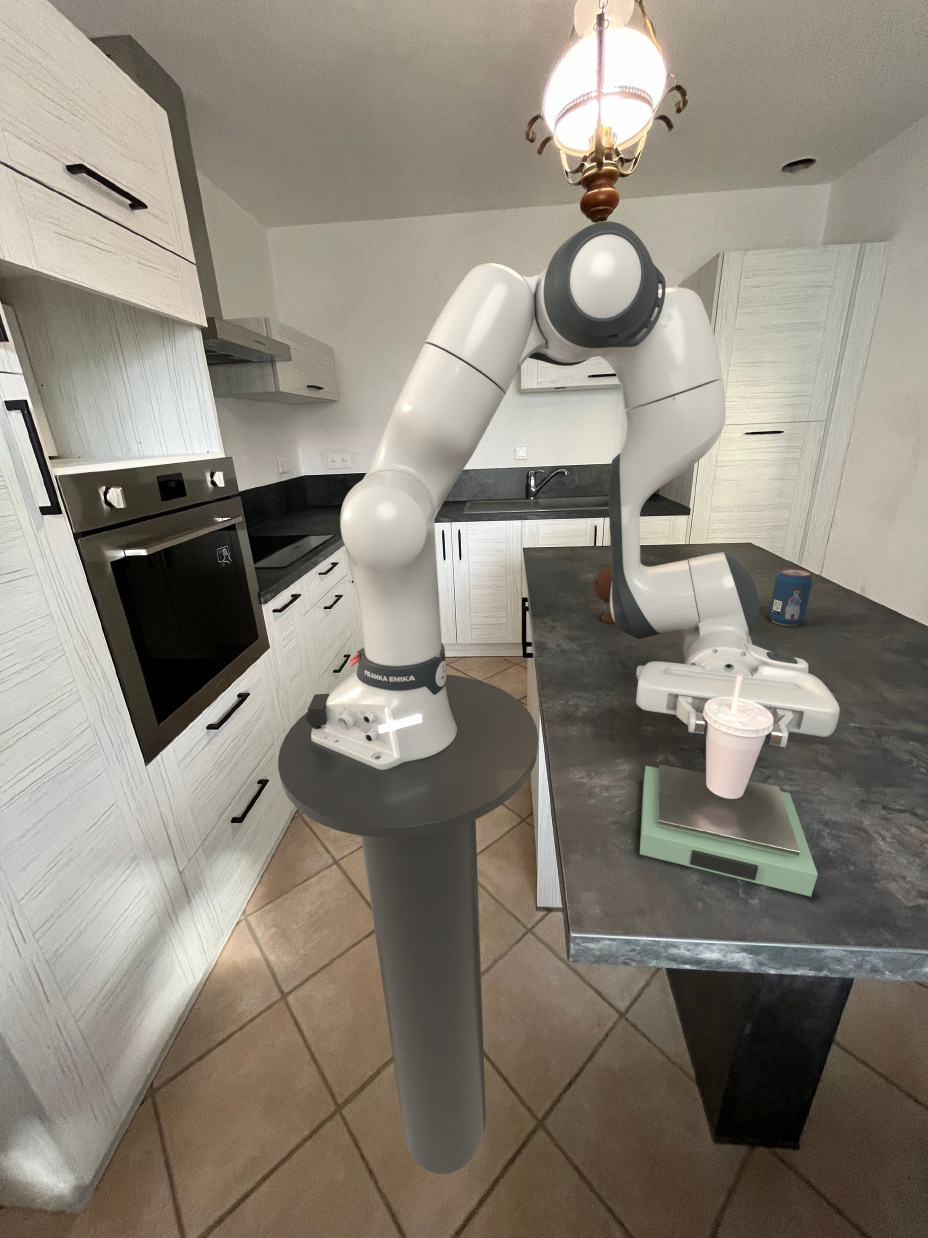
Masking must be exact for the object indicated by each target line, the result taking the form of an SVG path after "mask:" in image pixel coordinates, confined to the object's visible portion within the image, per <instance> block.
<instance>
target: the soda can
mask: <svg viewBox="0 0 928 1238" xmlns="http://www.w3.org/2000/svg"><path fill="white" fill-rule="evenodd" d="M811 575H812V573H811V572H810V571H808V570H804V569H799V568H783V569H781V570H780V571H779V574H777V576H776V577H775V582H774V587H773V591H772V596H771V601H770V605H769V611H768V617H769V619H770V621H771V622H772V623H774V624H777V625H780V626H784V627H785V626H786V627H796V626H798V625H800V624H801V623H802V622H803V621H804V620H805V616H806V612H807V607H808V603H809V599H810V594H811V589H812V586H813V585H812V584H813V579H812V576H811Z"/></svg>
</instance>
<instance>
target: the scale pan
mask: <svg viewBox="0 0 928 1238" xmlns="http://www.w3.org/2000/svg"><path fill="white" fill-rule="evenodd" d="M658 768H659V771H658V826H660V827H664V828H669V829H673V830H677V831H682V832H686V833H691V834H695V835H699V836H704V837H708V838H713V839H717V840H721V841H726V842H730V843H735V844H739V845H743V846H748V847H752V848H757V849H761V850H765V851H770V852H774V853H779V854H783V855H787V856H792V857H796V858H799V854H800V850H799V847H798V844H797V841H796V838H795V835H794V832H793V828H792V825H791V822H790V819H789V816H788V813H787V810H786V807H785V804H784V801H783V797H782V794H781V787H780V786H779V785H773V784H767V783H763V782H756V781H752V780H751V781H750V780H749V781H748V783H747V786H746V788H745V791H744V794H743V795H742V796H741V797H739V798H736V799H729V798H724V797H721V796H718V795H716V794H714V793H713V792H712V791H710V790H709V788H708V787H707V785H706V772H703V771H698V770H692V769H686V768H681V767H676V766H672V765H671V766H670V765H665V764H661V763H660V764H658Z"/></svg>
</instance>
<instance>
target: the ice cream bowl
mask: <svg viewBox="0 0 928 1238" xmlns="http://www.w3.org/2000/svg"><path fill="white" fill-rule="evenodd" d="M591 583H592V588H593V590H594V593H595V594H596V596H597V597H598V598H599V599H600V600H601V601H603V602H604V603H606V604H609V605H610V591H611V583H612V567H611V565H607V566H606V567H605V568H603V569H601V570H600V571H599V572H597V577H595V578H593V579H592V580H591ZM600 619H601V621H602V622H604V623H607V624H608V623H609V624H615V622H614V620H613V618H612V615H611V610H610V609H609V612H606V613H604V614H603V615H602V616H601V617H600Z"/></svg>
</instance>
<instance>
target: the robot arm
mask: <svg viewBox="0 0 928 1238" xmlns="http://www.w3.org/2000/svg"><path fill="white" fill-rule="evenodd" d="M659 285H661V289H660V287H659ZM595 357H600V358H601V359H603V360H604V361H606V362H607V364H608V365H609V366H610V367H611V369H612V370H613V372H614V374H615V375H616V378H617V381H618V383H620V384H619V385H620V390H621V396H622V402H623V407H624V408H623V409H624V410H625V411H624V413H625V414H624V415H625V421H626V431H625V436H624V437H625V438H624V442H623V445H622V448H621V451H620V452H619V453H617V455H616V456H615V457H613V459H611V463H610V467H609V475H608V518H609V519H608V521H609V541H610V543H609V545H610V566H611V567H612V583H611V591H610V604H609V611H610V610H611V615H612V618H613V620H614V622H615V623H614V625H615V627H616V628H617V629H619V630H620V631H622V632H623V633H625V634H626V635H629V636H631V637H633V638H635V639H638V640H640V639H644V638H649V637H654V636H658V635H661V634H663V633H669V632H676V631H683V634H682V635H683V636H682V654H683V658H684V660H683V663H679V662H670V661H659V660H654V661H649V662H647V663H646V664H645V665H638V666H637V668H636V670H635V677H636V679H637V680H638V681H637V688H636V699H635V704H636V705H637V707H639V708H640V709H641V710H643V711H647V712H653V713H658V714H659V713H661V714H667V715H673V716H676V718H678V719H679V720H680V721H681V722H683V723H684V724H685V725H687V731H688V733H691V734H699V735H704V734H705V728H706V720H705V718H704V716H703V710H704V707H705V703H706V702H707V701H708V700H710V699H712V698H716V697H723V696H729V697H733V695H734V689H735V683H736V678H737V674H738V673H740V674H743V680H742V686H741V691H740V697H739V698H743V699H747V700H750V701H753V702H755V703H757V704H760V705H761V706H763V707H765V708H766V709H767V710H768V711H769V712H770V713H771V714H772V715H773V718H774V721H773V729H772V731H771V732H770V733H768V734H767V735H766V737H765V741H767V745H770V746H775V747H781V748H786V747H787V743H788V739H789V735H790V733H795V734H802V735H807V736H813V737H814V736H815V737H821V738H827V737H829V736H831V735H832V734H833V733H834V732H835V730H836V728H837V725H838V721H839V718H840V712H841V711H840V710H841V709H840V705H839V703H838V701H837V699H836V698H835V696H834V695H833V693H832V692H831V691H830V689H829V688H828V687H827V686H826V684H825V683H824V682H823V681H822V680H821V679H820V678H819V677H817V676H815V675H814V674H811V673H809V663H808V662H807V661H806V660H804V659H802V658H799V657H794V656H790V655H787V654H783V653H778V652H774V651H771V650H768V649H765V648H762V647H760V646H757V645H755V644H753V642H752V638H751V636H750V634H751V633H752V632H753V631H754V630H755V628H756V626H757V624H758V622H759V620H760V616H761V615H760V614H761V612H760V611H761V610H760V609H761V608H760V600H759V595H758V592H757V587H756V584H755V582H754V579H753V577H752V574H751V573H750V571H749V568H748V567H747V564H746V563H745V562H743V561H742V560H740V559H739V558H738V557H737V556H735V555H733V554H731V553H729V552H726V551H723V552H722V551H721V552H716V553H710V554H705V555H700V556H695V557H690V558H688V559H683V560H678V561H673V562H668V563H664V564H663V563H662V564H658V565H653V566H652V565H651V566H647V565H643V564H642V562H641V524H640V523H641V522H640V521H641V519H640V516H641V511H642V508H643V506H644V504H645V503H646V502H647V500H648V499H649V498H650V497H651V496H652V495H653V494H654V493H655V492H657V491H658V490H659V489H660V488H662V487H663V486H665V485H666V484H667V483H669V482H670V481H672V480H674V479H676V478H677V477H678V476H680V475H681V474H684V472H687V470H688V469H690V468H691V467H693V466H694V465H695V464H697V463H698V462H699V461H700V460H701V459H702V458H704V456H706V455H707V454H708V452H709V451H710V450H711V449H712V448H713V447H714V446H715V444H716V443H717V441H718V440H719V438H720V437H721V434H722V433H723V430H724V427H725V424H726V412H727V411H726V392H725V382H724V377H723V369H722V364H721V360H720V355H719V351H718V346H717V342H716V338H715V335H714V330H713V328H712V325H711V321H710V317H709V315H708V313H707V310H706V307H705V305H704V302H703V300H702V298H701V297H700V295H699V294H698V293H697V292H695V291H694V290H692V289H690V288H687V287H681V286H671V287H667V283H666V278H665V276H664V274H663V273H662V271H661V270H660V269H659V268H658V267H657V266H656V265H655V263H654V261H653V260H652V257H651V254H650V252H649V250H648V248H647V247H646V244H645V243H644V242H643V241H642V240H641V237H639V236H638V235H637V234H636V233H635V232H634V231H633V230H632V229H630V228H629V227H628V226H626V225H624V224H622V223H619V222H616V221H610V220H609V221H607V220H605V221H597V222H594V223H590V224H588V225H586V226H584V227H582V228H580V229H578V230H577V231H575V232H574V233H572V234H571V235H570V236H569V237H567V238H566V239H565V240H564V242H562V243H561V244H560V246H558V248H557V249H556V251H555V253H554V254H553V255H552V257H551V260H550V261H549V263H548V265H547V266H546V267H545V269H544V270H543V271H542V272H540V273H539V274H536V275H534V276H524V275H520V274H519V273H517V271H515V270H513V269H512V268H510V267H508V266H506V265H503V264H499V263H491V262H487V263H481V264H479V265H476V266H475V267H473V268H472V269H470V270H469V272H468V273H466V275H465V276H464V278H463V279H462V280H461V282H460V283H459V284H458V286H457V287H456V288H455V290H454V291H453V292H452V294H451V295H450V297H449V298H448V300H447V302H446V304H445V305H444V307H443V308H442V310H441V312H440V313H439V315H438V316H437V318H436V320H435V322H434V324H433V326H432V327H431V329H430V331H429V333H428V335H427V337H426V339H425V341H424V343H423V346H422V348H421V350H420V352H419V354H418V356H417V357H416V360H415V362H414V364H413V366H412V368H411V370H410V372H409V375H408V377H407V379H406V381H405V383H404V385H403V387H402V389H401V391H400V394H399V396H398V398H397V400H396V401H395V404H394V406H393V408H392V411H391V414H390V416H389V418H388V419H389V420H388V422H387V424H386V427H385V429H384V432H383V434H382V436H381V439H380V441H379V444H378V446H377V449H376V451H375V453H374V455H373V458H372V460H371V462H370V464H369V467H368V469H367V471H366V473H365V475H364V477H363V478H362V480H360V481H358V483H356V484H355V485H353V487H352V488H351V489H350V490H349V491H348V492H347V494H346V495H345V498H344V499H343V501H342V505H341V510H340V515H339V525H340V527H339V528H340V533H341V538H342V541H343V543H344V548H345V553H346V558H347V562H348V563H347V564H348V566H349V567H348V568H349V571H350V576H351V579H352V582H353V586H354V589H355V593H356V597H357V603H358V608H359V615H360V624H361V625H360V626H361V633H362V640H363V647H362V648H360V649H359V650H357V652H356V655H354V656H352V657H351V658H350V659H349V660H348V661H349V662H351V663H350V664H349V667H350V668H352V667H354V666H355V665H357V664H358V665H357V669H356V670H355V671H354V672H353V673H352V674H350V675H349V676H348V677H347V678H346V679H344V680H343V681H342V682H341V683H340V684H338V685H337V686H336V687H335V688H334V689H333V690H332V691H331V692H330V693H317V694H316V693H315V694H314V695H313V697H312V698H311V701H310V703H309V706H308V708H307V711H306V712H307V715H306V719H307V721H308V723H309V724H310V725H311V726H312V727H313V729H312V732H311V740H312V741H313V742H315V743H317V744H320V745H322V746H324V747H327V748H329V749H331V750H334V751H336V752H339V753H341V754H343V755H346V756H348V757H351V758H353V759H355V760H358V761H360V762H363V763H365V764H367V765H370V766H372V767H374V768H377V769H380V770H386V769H389V768H392V767H394V766H397V765H399V764H401V763H403V762H407V761H413V760H418V759H422V758H426V757H429V756H432V755H434V754H436V753H438V752H440V751H442V750H443V749H445V748H446V747H447V746H449V745H450V744H451V742H452V741H453V740H454V738H455V736H456V734H457V725H456V723H455V721H454V718H453V715H452V712H451V709H450V705H449V701H448V697H447V692H446V685H445V684H446V675H448V674H447V673H448V672H447V669H448V668H447V660H446V650H445V645H444V644H443V642H442V629H441V628H442V627H441V609H440V596H439V595H440V593H439V579H438V563H437V548H436V547H437V546H436V530H435V529H436V527H435V519H436V517H437V515H438V513H439V511H440V509H441V508H442V505H443V504H444V502H445V501H446V499H447V498H448V495H449V493H450V492H451V490H452V489H453V488H454V486H455V483H456V482H457V480H458V479H459V478H460V475H461V474H462V472H463V471H464V469H465V468H466V466H467V465H468V463H469V461H470V460H471V458H472V457H473V455H474V453H475V451H476V450H477V448H478V446H479V444H480V442H481V440H482V438H483V437H484V435H485V433H486V431H487V429H488V428H489V426H490V424H491V422H492V420H493V418H494V416H495V415H496V413H497V411H498V409H499V407H500V405H501V403H502V401H503V400H504V398H505V396H506V395H507V392H508V390H509V388H510V387H511V385H512V383H513V381H514V379H515V377H516V376H517V373H518V372H519V370H520V369H521V368H522V366H523V365H524V363H525V361H526V360H528V359H531V360H535V361H540V362H544V363H548V364H550V365H554V366H561V367H571V366H576V365H579V364H583V363H584V362H586V361H588V360H590V359H592V358H595Z"/></svg>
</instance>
